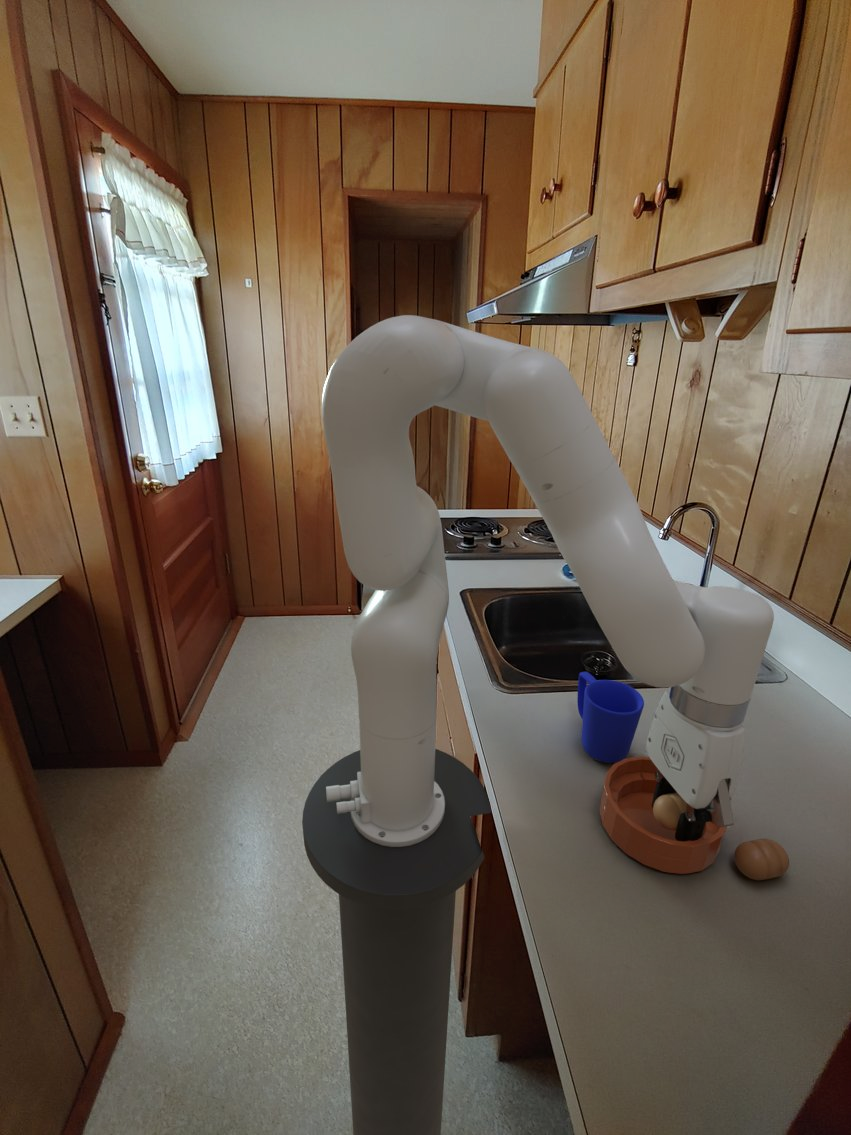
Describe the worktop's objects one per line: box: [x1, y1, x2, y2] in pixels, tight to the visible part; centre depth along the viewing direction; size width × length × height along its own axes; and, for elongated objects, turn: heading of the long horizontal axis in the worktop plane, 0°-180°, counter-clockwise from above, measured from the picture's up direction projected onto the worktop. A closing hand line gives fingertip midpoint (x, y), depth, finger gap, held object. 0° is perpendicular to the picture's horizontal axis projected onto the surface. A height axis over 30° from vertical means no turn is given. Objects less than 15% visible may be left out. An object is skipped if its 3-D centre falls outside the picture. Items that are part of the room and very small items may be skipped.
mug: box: [576, 671, 645, 764], centre depth 83 cm, size 8×12×10 cm
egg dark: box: [733, 838, 790, 881], centre depth 64 cm, size 6×4×4 cm, turn 102°
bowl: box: [598, 755, 728, 875], centre depth 69 cm, size 14×14×5 cm
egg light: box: [653, 793, 686, 830], centre depth 66 cm, size 6×4×4 cm, turn 102°
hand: (675, 821), depth 67 cm, fingers closed on egg light, 4 cm apart
